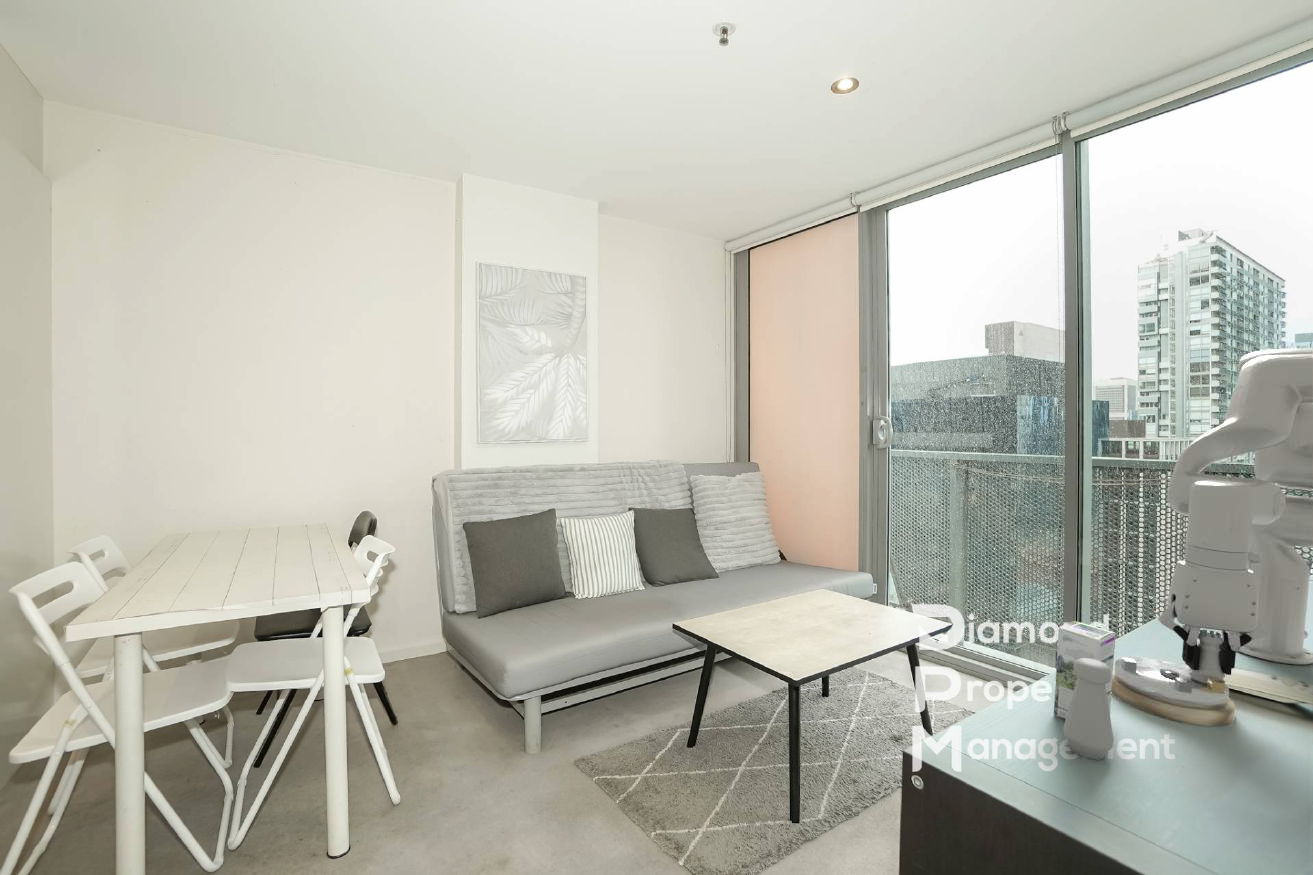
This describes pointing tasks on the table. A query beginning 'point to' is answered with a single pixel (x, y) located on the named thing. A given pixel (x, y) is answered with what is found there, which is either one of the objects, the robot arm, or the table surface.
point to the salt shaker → (1089, 711)
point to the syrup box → (1075, 645)
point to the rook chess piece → (1208, 657)
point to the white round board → (1170, 683)
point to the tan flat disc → (1174, 708)
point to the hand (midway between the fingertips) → (1207, 668)
